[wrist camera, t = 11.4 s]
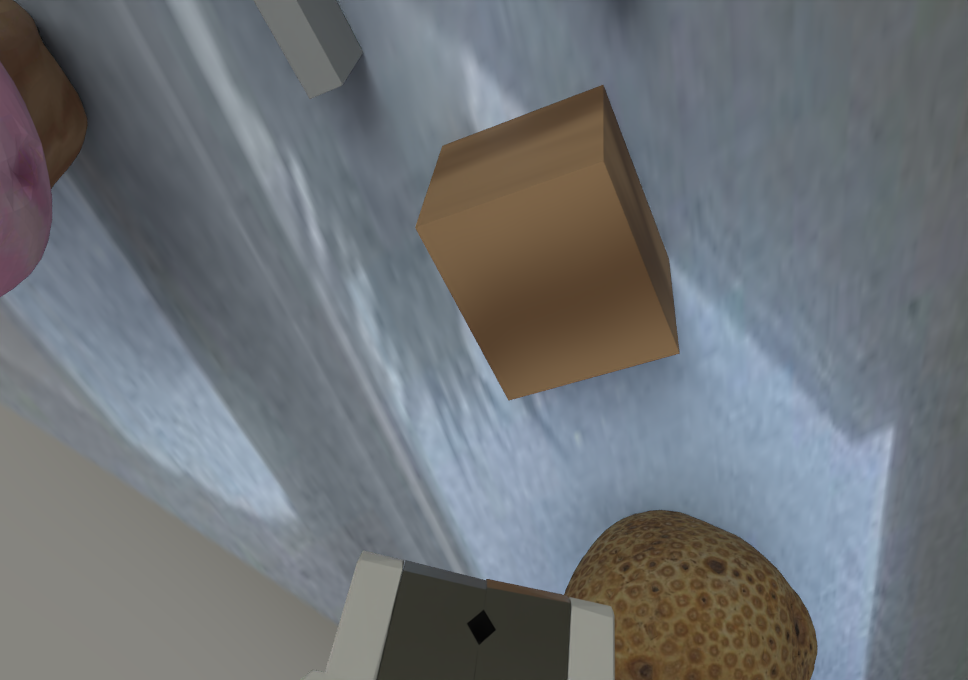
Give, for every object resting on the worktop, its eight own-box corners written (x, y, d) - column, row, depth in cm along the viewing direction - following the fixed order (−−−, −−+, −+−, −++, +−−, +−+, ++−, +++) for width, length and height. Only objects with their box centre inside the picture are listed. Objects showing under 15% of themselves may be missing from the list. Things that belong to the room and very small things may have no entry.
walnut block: (442, 144, 27) (415, 227, 23) (603, 83, 26) (603, 161, 22) (521, 302, 30) (508, 400, 26) (668, 256, 29) (679, 353, 25)
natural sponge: (833, 481, 33) (907, 740, 25) (736, 625, 38) (771, 876, 30) (592, 420, 33) (589, 664, 25) (527, 574, 38) (507, 816, 30)
